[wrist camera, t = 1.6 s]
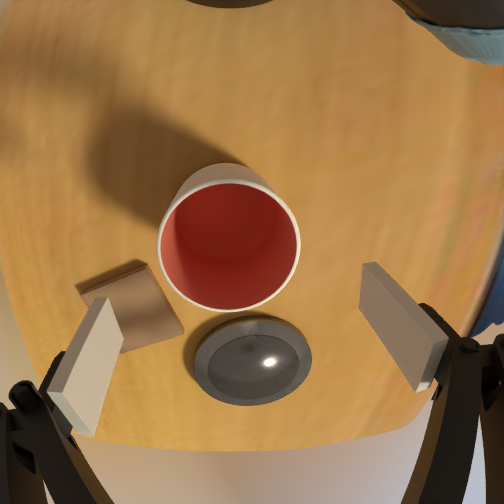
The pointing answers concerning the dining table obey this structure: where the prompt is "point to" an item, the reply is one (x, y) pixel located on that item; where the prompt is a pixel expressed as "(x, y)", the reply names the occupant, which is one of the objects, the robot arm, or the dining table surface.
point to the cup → (227, 239)
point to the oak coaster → (138, 308)
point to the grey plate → (252, 360)
